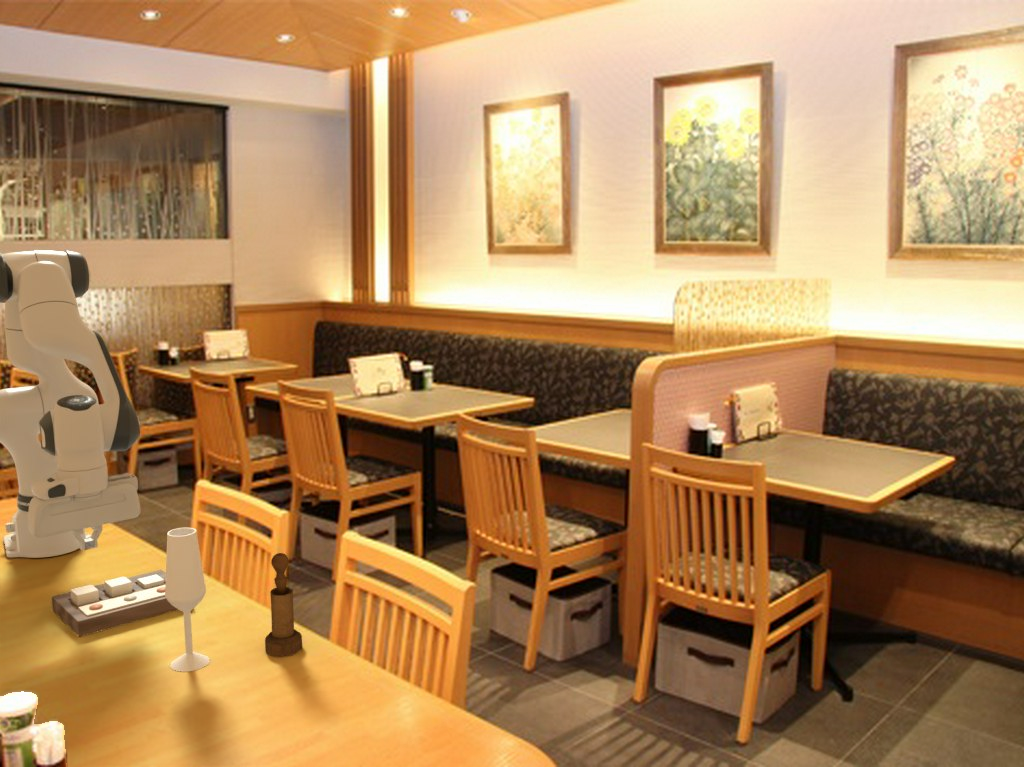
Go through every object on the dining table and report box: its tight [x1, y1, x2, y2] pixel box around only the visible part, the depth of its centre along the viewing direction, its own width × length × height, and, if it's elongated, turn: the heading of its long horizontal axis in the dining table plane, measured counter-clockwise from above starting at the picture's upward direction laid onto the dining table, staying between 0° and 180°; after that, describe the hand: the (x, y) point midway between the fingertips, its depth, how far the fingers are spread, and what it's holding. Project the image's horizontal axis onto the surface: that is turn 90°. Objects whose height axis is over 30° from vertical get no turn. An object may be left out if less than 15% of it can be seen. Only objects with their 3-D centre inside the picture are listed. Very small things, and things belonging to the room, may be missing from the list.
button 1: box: [70, 583, 99, 607], centre depth 189 cm, size 4×4×3 cm
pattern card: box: [78, 585, 165, 616], centre depth 188 cm, size 5×18×1 cm, turn 132°
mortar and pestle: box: [264, 552, 303, 658], centre depth 172 cm, size 7×6×18 cm
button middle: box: [103, 576, 133, 598], centre depth 193 cm, size 4×4×3 cm
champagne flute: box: [165, 527, 211, 673], centre depth 166 cm, size 7×7×24 cm
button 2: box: [137, 574, 164, 589], centre depth 197 cm, size 4×4×3 cm
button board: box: [51, 569, 178, 637], centre depth 192 cm, size 16×22×3 cm
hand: (88, 548), depth 188 cm, fingers closed
